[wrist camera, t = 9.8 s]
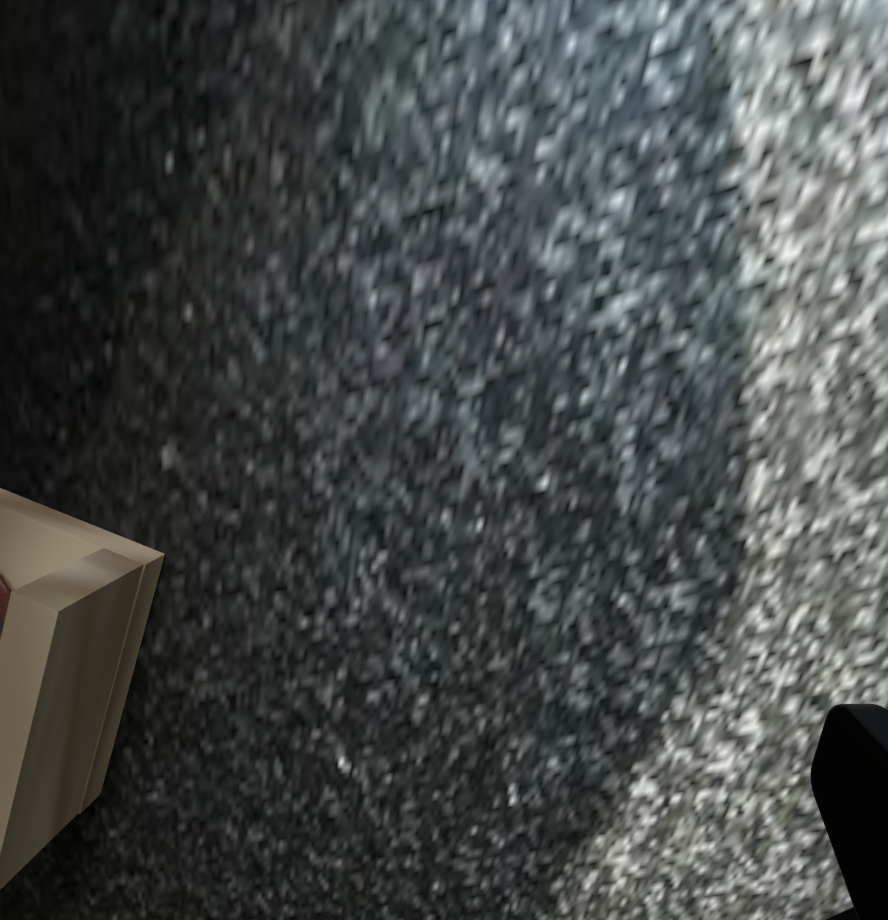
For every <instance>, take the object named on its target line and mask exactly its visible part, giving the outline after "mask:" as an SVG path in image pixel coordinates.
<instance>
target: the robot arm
mask: <svg viewBox="0 0 888 920" xmlns="http://www.w3.org/2000/svg"><path fill="white" fill-rule="evenodd" d="M811 785H812V790H813V794H814V797H815V800H816V802H817V805H818V808H819V811H820V814H821V816H822V819H823V822H824V825H825V828H826V830H827V833H828V836H829V839H830V842H831V844H832V847H833V850H834V853H835V856H836V858H837V861H838V864H839V867H840V870H841V872H842V875H843V878H844V881H845V884H846V886H847V889H848V892H849V895H850V898H851V900H852V903H853V906H854V907H853V908H851V909H849V910H847V911H845V912H842V913H840V914H838V915H836V916H834V917H831V918H829V919H827V920H888V710H887V709H885V708H883V707H882V706H879V705H875V704H839V705H836V706H834V707H833V708H832V709H831V710H830V711H829V712H828V714H827V717H826V720H825V723H824V726H823V730H822V733H821V736H820V739H819V743H818V746H817V749H816V753H815V756H814V759H813V762H812V767H811Z"/></svg>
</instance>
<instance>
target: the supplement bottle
mask: <svg viewBox="0 0 888 920" xmlns="http://www.w3.org/2000/svg"><path fill="white" fill-rule="evenodd" d="M11 591H12V590H11V589H10V588H9V586H8V584H7V582H6V581H5V579H4V577H3V575H1V574H0V640H1V635H2V631H3V626H4V622H5V617H6V613H7V608H8V604H9V599H10V595H11Z"/></svg>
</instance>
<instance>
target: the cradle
mask: <svg viewBox="0 0 888 920" xmlns="http://www.w3.org/2000/svg"><path fill="white" fill-rule="evenodd" d="M164 556H165V554H164V553H161V552H159V551H156V550H154V549H151V548H149V547H146V546H144V545H141V544H139V543H136V542H134V541H131V540H129V539H126V538H124V537H121V536H119V535H116V534H114V533H111V532H109V531H106V530H104V529H101V528H99V527H96V526H94V525H91V524H89V523H86V522H84V521H81V520H79V519H76V518H74V517H71V516H69V515H66V514H64V513H61V512H59V511H56V510H54V509H51V508H49V507H46V506H44V505H41V504H39V503H36V502H34V501H31V500H29V499H26V498H24V497H21V496H19V495H16V494H14V493H11V492H9V491H6V490H4V489H1V488H0V574H1V575H3V577H4V579H5V581H6V582H7V584H8V586H9V588H10V589H11V590H12V591H11V595H10V599H9V604H8V608H7V613H6V617H5V622H4V626H3V631H2V635H1V640H0V889H1V888H2V887H3V886H4V885H5V884H6V883H7V882H8V881H9V880H10V879H11V878H12V877H14V876H15V875H16V874H17V873H18V872H19V871H20V870H21V869H22V868H23V867H24V866H25V865H26V864H27V863H28V862H29V861H30V860H31V859H32V858H33V857H34V856H35V855H36V854H37V853H38V852H39V851H40V850H41V849H42V848H43V847H44V846H45V845H46V844H47V843H48V842H49V841H50V840H52V839H53V838H54V837H55V836H56V835H57V834H58V833H59V832H60V831H61V830H62V829H63V828H64V827H65V826H66V825H67V824H68V823H69V822H70V821H71V820H72V819H73V818H74V817H75V816H76V815H77V814H78V813H79V814H80V813H81V812H82V811H84V810H85V809H86V808H87V807H88V806H89V805H90V804H91V803H92V802H93V801H94V800H95V799H96V798H97V797H98V796H99V795H100V794H101V790H102V787H103V783H104V779H105V776H106V772H107V768H108V764H109V761H110V757H111V753H112V749H113V746H114V742H115V738H116V735H117V731H118V727H119V723H120V720H121V716H122V712H123V708H124V705H125V701H126V697H127V694H128V690H129V686H130V682H131V679H132V675H133V671H134V667H135V664H136V660H137V656H138V653H139V649H140V645H141V641H142V638H143V634H144V630H145V627H146V623H147V619H148V615H149V612H150V608H151V604H152V600H153V597H154V593H155V589H156V586H157V582H158V578H159V574H160V571H161V567H162V563H163V559H164Z"/></svg>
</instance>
